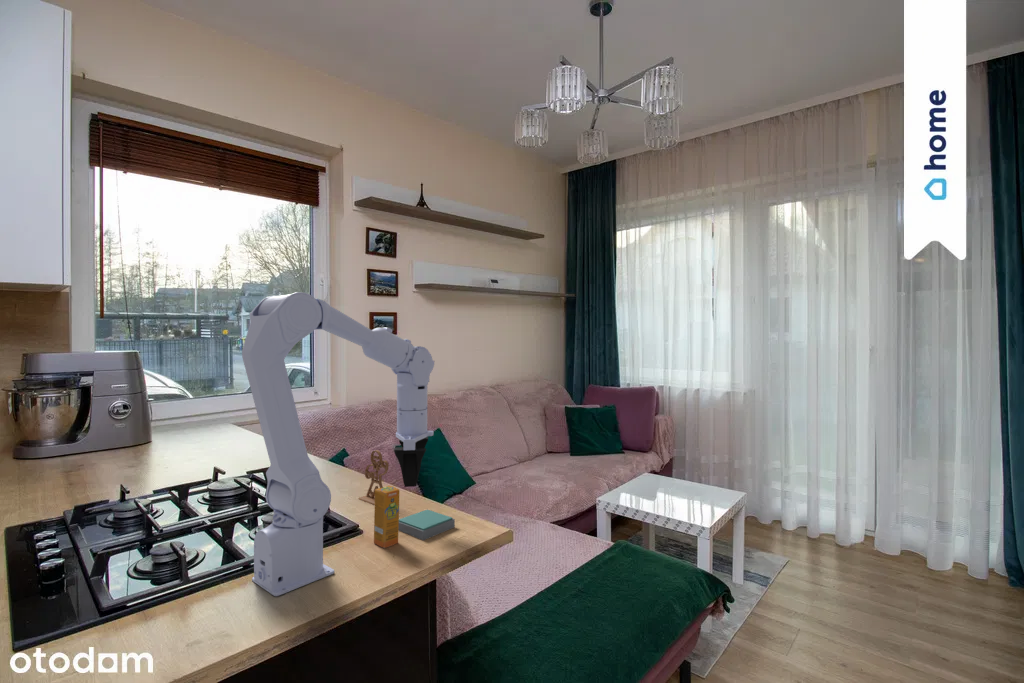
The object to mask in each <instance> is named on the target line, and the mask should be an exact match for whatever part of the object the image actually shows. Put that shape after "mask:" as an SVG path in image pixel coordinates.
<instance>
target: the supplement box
mask: <svg viewBox="0 0 1024 683" xmlns="http://www.w3.org/2000/svg"><path fill="white" fill-rule="evenodd" d="M373 517H374V519H373V520H374V522H373V523H374V524H373V525H374V528H373V533H374V534H373V544H374V545H376V546H378V547H380V548H383V549H387V548H389V547H391V546H394V545H396V544H398V543H399V530H398V529H399V519H400V489H399V488H397V487H395V486H392V485H387V486H383V488H380V487H378V489H376V490H375V505H374V516H373Z"/></svg>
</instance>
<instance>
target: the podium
mask: <svg viewBox="0 0 1024 683" xmlns="http://www.w3.org/2000/svg"><path fill="white" fill-rule="evenodd" d="M455 521H456V520H455V518H453V517H451V516H448V515H446V514H443V513H440V512H437V511H435V510H434V511H433V510H431V509H425V510H422V511H419V512H416V513H413V514H410V515H407V516H405V517H402V518H399V529H398V532H402V533H404V534H406V535H409V536H412V537H414V538H417V539H419V540H421V541H425V540H427V539H430V538H432V537H435V536H437V535H439V534H442V533H444V532H446V531H450V530H451V529H454V528H455V527H456V525H455V524H456V523H455Z"/></svg>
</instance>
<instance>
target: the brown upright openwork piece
mask: <svg viewBox="0 0 1024 683" xmlns="http://www.w3.org/2000/svg"><path fill="white" fill-rule="evenodd" d="M375 453H377V455H378V456H377V455H375ZM377 460H378V461H377ZM370 463H371V464H368V465H366V467H365V470H364V477H365V479H367V480H369V479H371V480H370V481H371V482H370V484H369V487H368V490H367V493H366V495H364V496H360V497H358V500H360V501H362V502H364V503H367V504H369V505H372V506H375V490H376V489H378V488H383V487H384V486H383V483H382V482H383V481H382V480H383V478H382V476H385V475H386V474H387V473H388V471H389V466H390V465H389V462H388V461H387V460H383V455H382V453H381V451H380V450H378V449H377V450H373V451H371V453H370ZM370 467H372V469H373V471H369V468H370ZM381 468H383V469H384V472H382V473H379V471H380V470H381ZM374 484H377V485H375V487H374V489H373V486H374ZM378 485H379V486H378ZM372 489H373V490H372Z"/></svg>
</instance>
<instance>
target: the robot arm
mask: <svg viewBox="0 0 1024 683" xmlns="http://www.w3.org/2000/svg"><path fill="white" fill-rule="evenodd" d="M249 321H250V322H249V326H248V329H247V333H246V335H245V340H244V343H243V347H242V350H241V356H242V361H243V365H244V369H245V373H246V376H247V380H248V384H249V387H250V391H251V395H252V398H253V403H254V407H255V410H256V413H257V417H258V421H259V424H260V429H261V434H262V436H263V440H264V443H265V447H266V452H267V455H268V458H269V463H270V466H269V467H268V469H267V470H266V472H265V475H266V476H265V477H266V479H267V485H266V490H265V501H266V503H267V506H268V507H270V509H272V510H273V516H272V523H270V525H268V526H266V527H264V528H262V529H260V530H258V531H256V532H255V534H254V539H253V576H252V578H251V581H252V582H253V583H255V584H257V586H259V587H261V588H262V589H263V590H265V591H266V592H267V593H269V594H270V595H272V596H274V597H279V596H282V595H284V594H286V593H289V592H291V591H294V590H296V589H298V588H301V587H304V586H307V585H308V584H311V583H314V582H316V581H318V580H321V579H324V578H326V577H328V576H332V575H333V574H335V569H334V568H332V567H330V566H328V565H326V564H325V563H324V529H323V528H324V522H323V521H324V516H325V514H326V513H327V512H328V510H329V508H330V505H331V502H332V494H331V490H330V488H329V487H328V485H327V484H326V483H325V482H324V481H323V480H322V478H321V473H320V470H319V469H318V468H317V466H316V465H315V463H313V461H312V460H311V458H310V457H309V455H308V454H309V453H308V450H307V447H306V442H305V438H304V435H303V431H302V427H301V422H300V419H299V414H298V411H297V406H296V403H295V399H294V395H293V391H292V386H291V381H290V378H289V374H288V371H287V366H286V363H285V358H286V357H287V356H288V355H289V353H290V352H291V350H292V349H293V348H294V347H295V345H296V344H297V343H298V342H300V341H302V340H303V339H304V338H306V337H307V336H309V335H311V334H312V333H313V332H314V331H315V330H316V331H317V330H323V331H325V332H328V333H330V334H332V335H335V336H337V337H339V338H341V339H344V340H346V341H348V342H350V343H354V344H356V345H358V346H360V347H361V348H362V352H363V355H365V357H367V358H369V359H371V360H374V362H375V361H376V362H378V363H380V364H382V365H384V366H386V367H388V368H391V371H392V372H393V374H395V375H396V432H395V438H397V439H398V441H399V444H400V446H399V447H397V446H396V447H395V448H394V449H393V452H394V455H395V457H396V459H397V460H398V463H399V465H400V466H399V467H400V470H401V476H402V481H403V486H404V487H405V488H406V487H407V488H409V487H417V485H418V484H417V483H418V480H419V475H420V471H421V467H422V460H423V458H424V456H425V454H426V451H427V448H426V445H427V443H428V442H429V437H432V436H433V437H434V434H435V433H434V430H428V385H429V383H430V376H431V373H432V372H433V369H434V367H435V360H433V356H432V354H431V352H430V351H429V350H428V349H427V348H426V347H425V346H420V345H419V346H416V345H415V346H414V344H412V341H411V339H408V338H404V339H403V338H401V337H400V336H398V335H396V334H394V333H393V329H392V328H390V327H385V326H384V327H376V328H373V329H371V328H368V327H367V326H365V325H364V324H362V323H360V322H359V321H358V320H355V319H353V318H352V317H350V316H349V315H347V314H345V313H344V312H342V311H340V310H338V309H336V308H335V307H333V306H331V304H329V303H328V302H327V301H325V300H323V299H319V298H315V297H314V296H313V295H311V294H309V293H307V292H302V291H301V292H300V291H296V292H293V293H289V294H283V295H270V296H268V295H267V296H265V297H264V298H263V299H261V301H259V302H258V303H257V305H256V306H255V307H254V308H253V309H252V310H251V312H250V313H249Z"/></svg>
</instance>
